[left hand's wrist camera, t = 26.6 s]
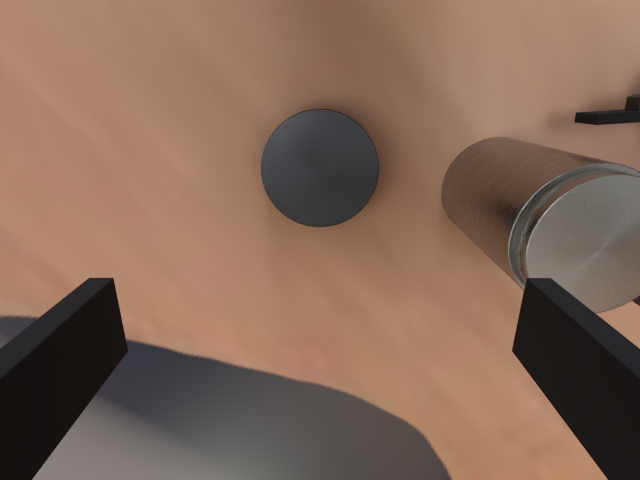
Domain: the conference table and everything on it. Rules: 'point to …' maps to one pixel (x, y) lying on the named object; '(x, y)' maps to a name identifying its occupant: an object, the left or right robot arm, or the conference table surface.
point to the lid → (319, 168)
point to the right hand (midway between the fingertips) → (571, 203)
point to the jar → (550, 217)
